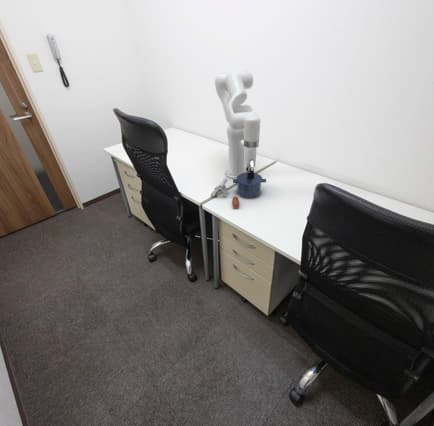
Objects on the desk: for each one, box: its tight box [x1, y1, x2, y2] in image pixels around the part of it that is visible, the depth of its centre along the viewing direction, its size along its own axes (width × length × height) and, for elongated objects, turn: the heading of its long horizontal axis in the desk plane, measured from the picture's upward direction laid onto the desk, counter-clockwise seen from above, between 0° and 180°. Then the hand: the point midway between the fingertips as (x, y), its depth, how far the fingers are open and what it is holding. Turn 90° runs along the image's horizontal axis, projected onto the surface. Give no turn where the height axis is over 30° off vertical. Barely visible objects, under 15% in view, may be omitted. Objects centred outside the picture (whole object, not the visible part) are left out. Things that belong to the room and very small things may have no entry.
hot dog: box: [232, 196, 240, 209], centre depth 122 cm, size 8×3×3 cm, turn 0°
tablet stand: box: [210, 177, 229, 198], centre depth 129 cm, size 9×8×8 cm
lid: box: [237, 170, 263, 185], centre depth 126 cm, size 14×14×6 cm
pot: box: [232, 178, 267, 199], centre depth 130 cm, size 13×18×8 cm
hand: (249, 174), depth 125 cm, fingers open, 9 cm apart
